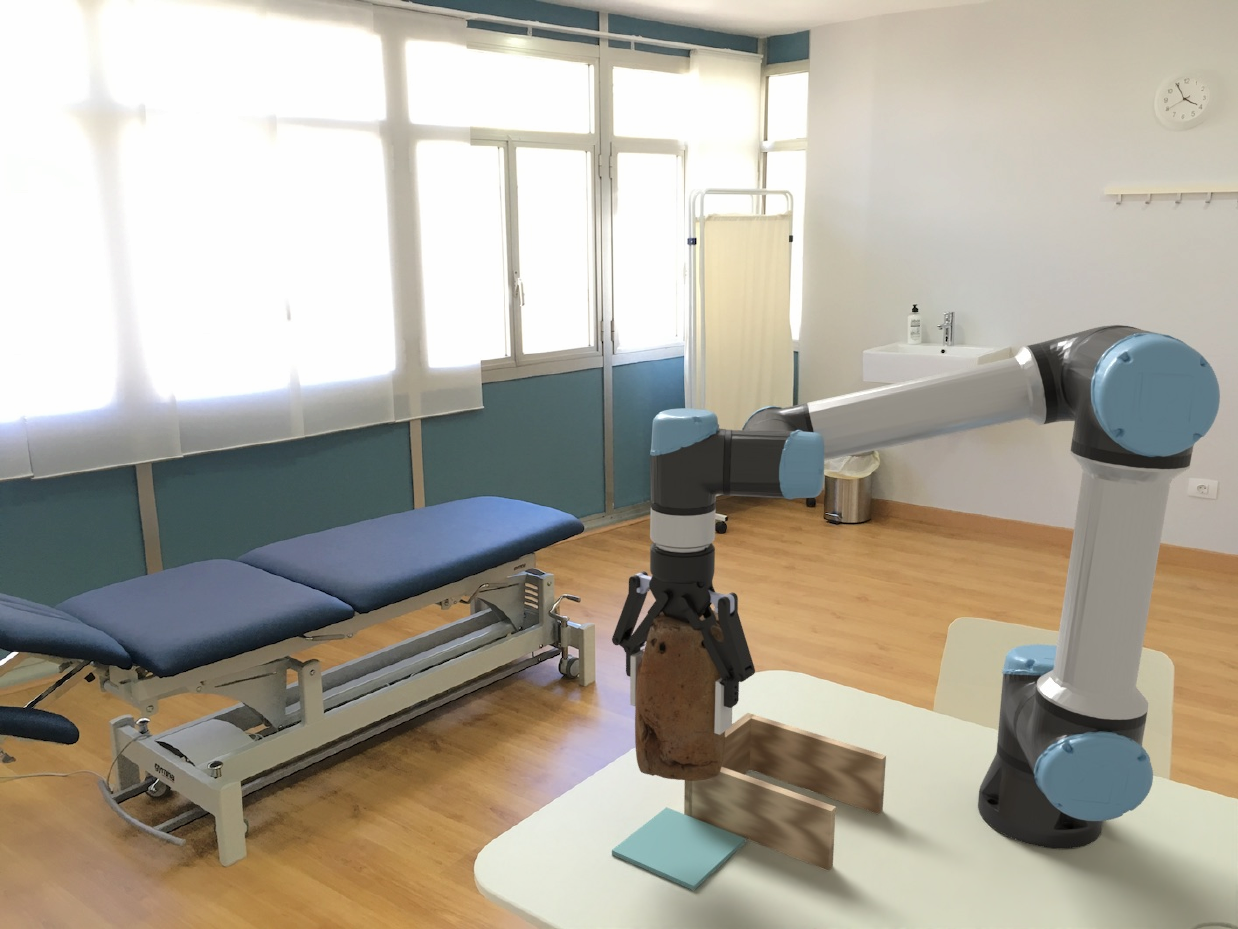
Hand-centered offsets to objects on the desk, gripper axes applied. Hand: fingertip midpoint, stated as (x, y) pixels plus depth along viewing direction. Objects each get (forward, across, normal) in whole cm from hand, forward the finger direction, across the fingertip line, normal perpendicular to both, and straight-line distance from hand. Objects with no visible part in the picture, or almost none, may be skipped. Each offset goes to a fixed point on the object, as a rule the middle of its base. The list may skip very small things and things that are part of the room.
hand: (680, 715), depth 125 cm
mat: (+18, 0, 0) cm, 18 cm away
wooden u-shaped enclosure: (+18, -7, -15) cm, 25 cm away
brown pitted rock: (+7, 0, 0) cm, 7 cm away
